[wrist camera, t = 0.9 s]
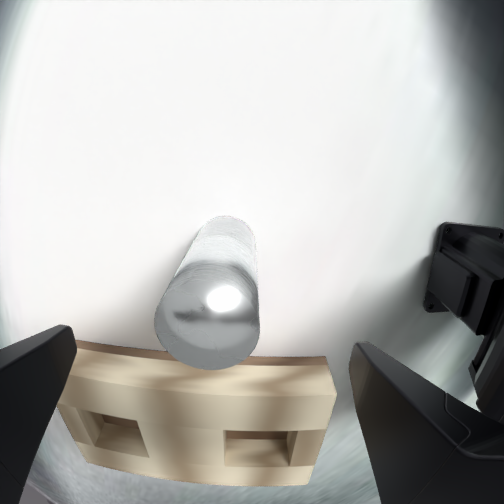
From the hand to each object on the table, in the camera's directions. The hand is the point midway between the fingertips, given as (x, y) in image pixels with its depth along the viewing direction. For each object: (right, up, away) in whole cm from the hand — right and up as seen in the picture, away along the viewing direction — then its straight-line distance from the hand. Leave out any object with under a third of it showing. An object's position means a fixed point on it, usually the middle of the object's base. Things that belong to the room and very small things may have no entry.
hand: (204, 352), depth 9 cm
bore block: (-4, -10, +14) cm, 18 cm away
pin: (0, +3, +10) cm, 10 cm away
